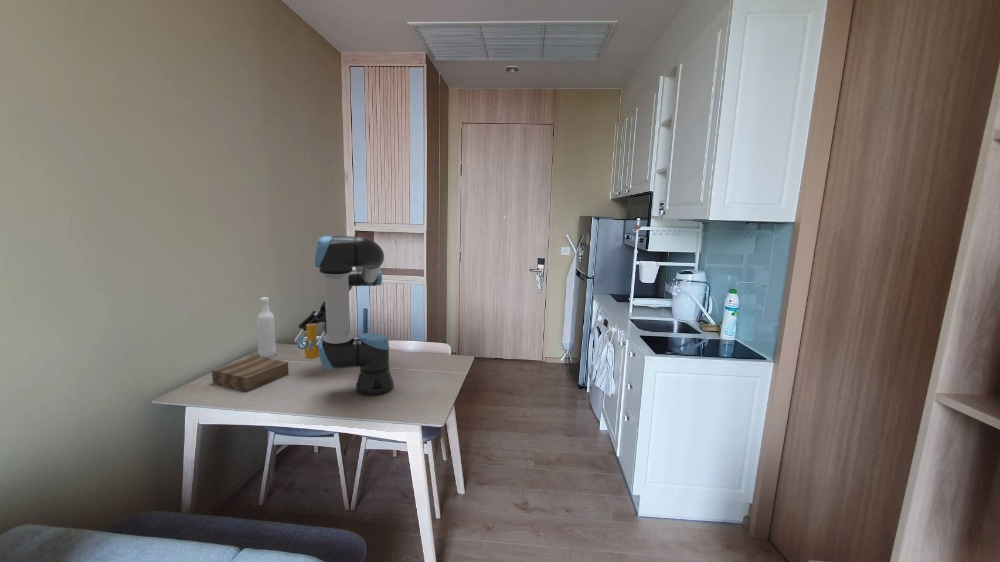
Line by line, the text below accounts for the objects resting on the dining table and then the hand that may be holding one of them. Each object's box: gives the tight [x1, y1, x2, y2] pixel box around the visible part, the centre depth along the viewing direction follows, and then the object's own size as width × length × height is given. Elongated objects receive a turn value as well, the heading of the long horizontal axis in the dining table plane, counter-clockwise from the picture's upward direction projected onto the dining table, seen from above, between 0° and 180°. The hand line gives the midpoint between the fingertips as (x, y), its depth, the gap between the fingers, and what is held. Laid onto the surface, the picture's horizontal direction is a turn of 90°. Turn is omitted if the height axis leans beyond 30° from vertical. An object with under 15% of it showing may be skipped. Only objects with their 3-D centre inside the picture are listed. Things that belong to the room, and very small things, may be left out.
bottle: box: [256, 296, 277, 358], centre depth 200 cm, size 8×8×30 cm
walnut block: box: [211, 355, 290, 393], centre depth 171 cm, size 20×20×6 cm
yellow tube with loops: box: [297, 323, 321, 360], centre depth 176 cm, size 12×10×15 cm
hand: (307, 344), depth 174 cm, fingers closed on yellow tube with loops, 12 cm apart
